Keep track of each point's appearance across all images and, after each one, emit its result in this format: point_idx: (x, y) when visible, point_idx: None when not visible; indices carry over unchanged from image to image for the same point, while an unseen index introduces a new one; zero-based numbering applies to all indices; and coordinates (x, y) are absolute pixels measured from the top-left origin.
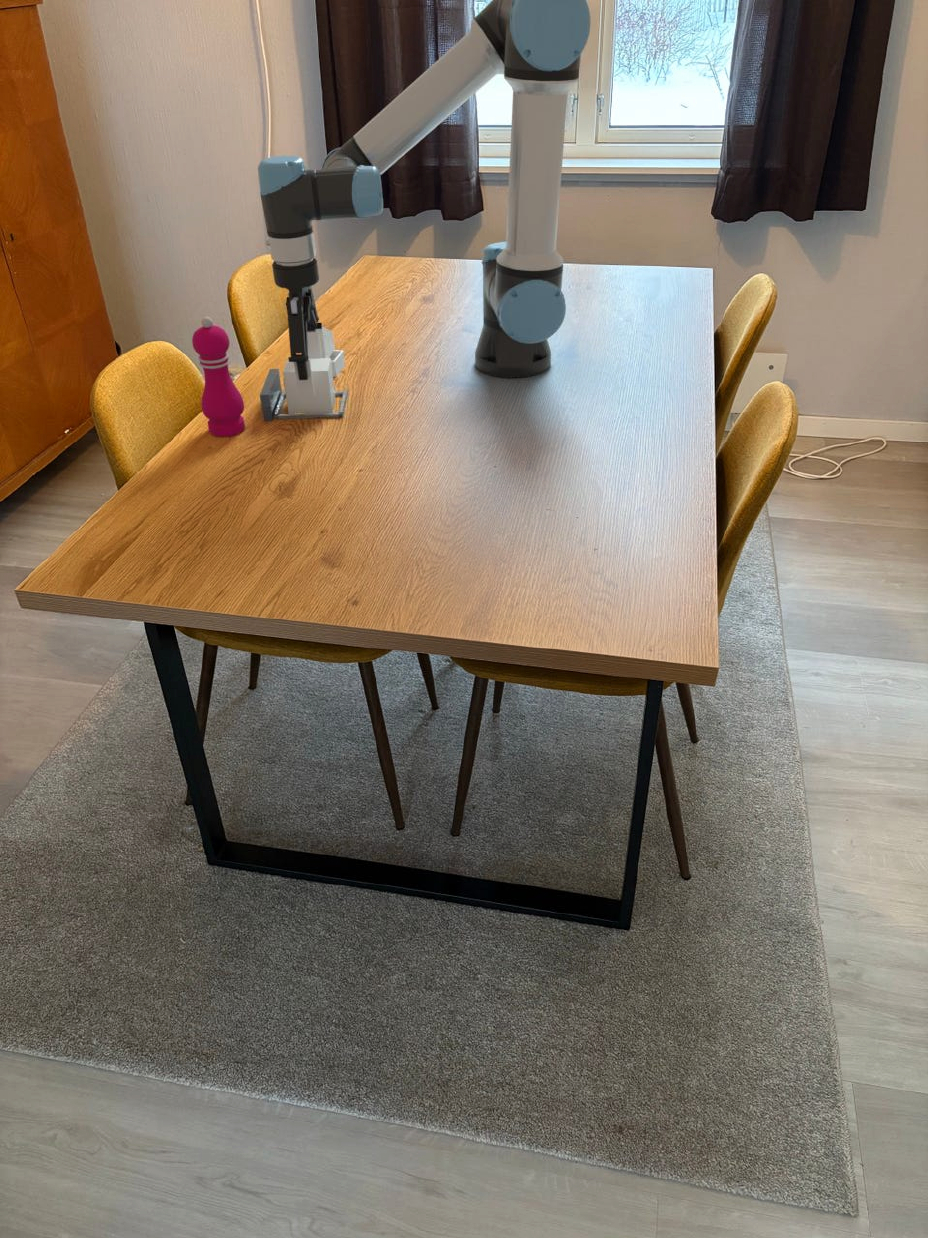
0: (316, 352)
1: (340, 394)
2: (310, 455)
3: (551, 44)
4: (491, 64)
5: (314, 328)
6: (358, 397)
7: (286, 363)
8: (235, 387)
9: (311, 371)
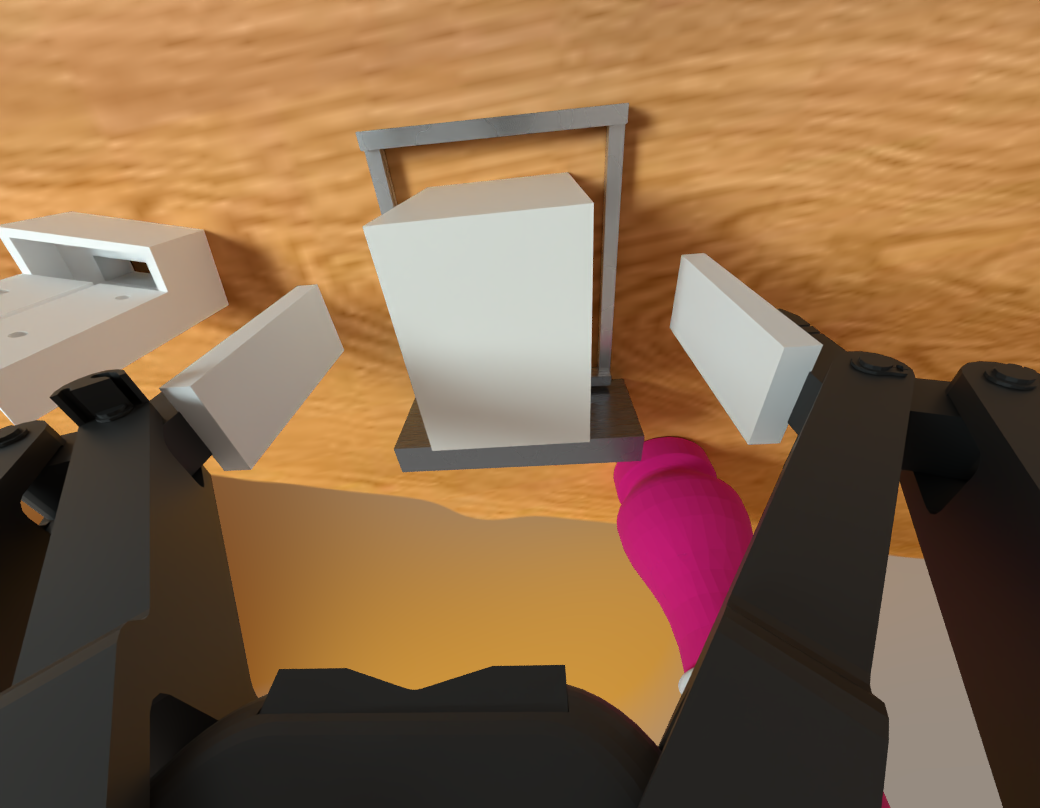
0: (291, 337)
1: (387, 168)
2: (970, 190)
3: None
4: None
5: (165, 420)
6: (389, 55)
7: (482, 444)
8: (699, 546)
9: (739, 302)
